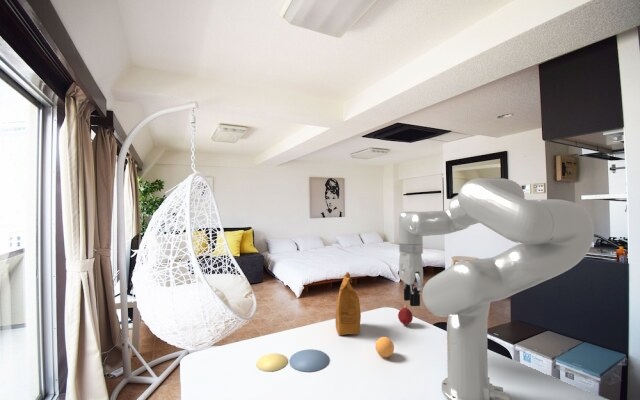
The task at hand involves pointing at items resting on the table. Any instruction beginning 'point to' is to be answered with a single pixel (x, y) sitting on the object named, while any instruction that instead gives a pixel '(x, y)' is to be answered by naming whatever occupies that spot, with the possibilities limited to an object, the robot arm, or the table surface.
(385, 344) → the ball
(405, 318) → the onion
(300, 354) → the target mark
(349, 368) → the table surface
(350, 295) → the coffee package
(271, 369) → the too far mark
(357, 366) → the table surface
